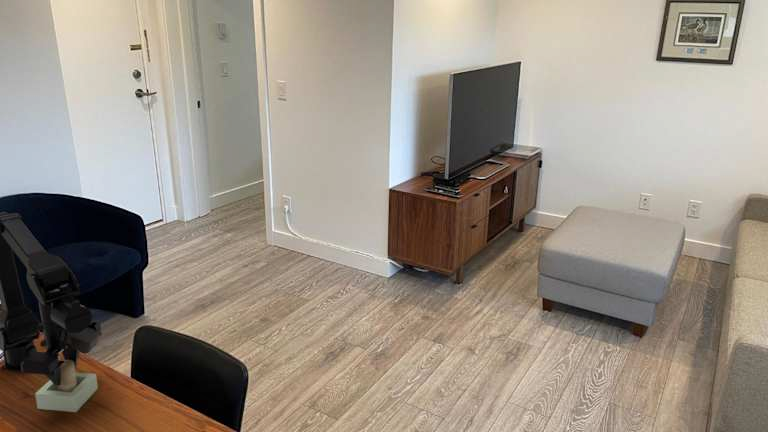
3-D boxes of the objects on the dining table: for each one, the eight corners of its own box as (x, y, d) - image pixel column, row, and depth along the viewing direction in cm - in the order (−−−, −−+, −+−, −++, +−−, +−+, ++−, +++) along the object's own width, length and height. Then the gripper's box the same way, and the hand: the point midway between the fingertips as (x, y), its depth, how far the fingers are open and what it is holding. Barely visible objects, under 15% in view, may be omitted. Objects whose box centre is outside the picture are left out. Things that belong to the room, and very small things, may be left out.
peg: (55, 402, 133) (50, 368, 130) (65, 392, 137) (61, 359, 134) (72, 404, 133) (67, 370, 130) (82, 393, 137) (77, 360, 134)
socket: (37, 408, 131) (35, 393, 130) (61, 385, 139) (59, 370, 138) (76, 412, 130) (73, 397, 129) (97, 388, 139) (96, 374, 138)
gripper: (65, 342, 119) (75, 406, 124) (113, 300, 136) (120, 358, 141) (13, 337, 120) (25, 401, 124) (68, 297, 137) (76, 354, 142)
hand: (65, 377), depth 133 cm, fingers open, 5 cm apart
